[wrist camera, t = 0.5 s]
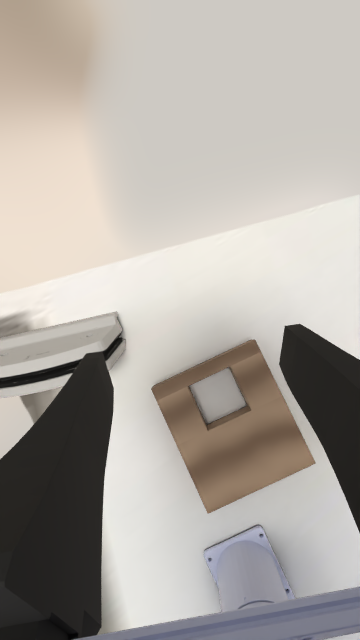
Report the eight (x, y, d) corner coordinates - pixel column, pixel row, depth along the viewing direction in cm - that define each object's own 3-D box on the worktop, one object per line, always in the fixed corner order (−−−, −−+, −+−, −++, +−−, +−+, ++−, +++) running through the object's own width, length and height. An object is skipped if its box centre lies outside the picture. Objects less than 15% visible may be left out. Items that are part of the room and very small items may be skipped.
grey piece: (119, 310, 39) (103, 334, 29) (129, 343, 40) (116, 376, 31) (-1, 337, 39) (-56, 369, 30) (12, 369, 41) (-37, 409, 31)
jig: (307, 454, 37) (315, 463, 34) (206, 501, 37) (207, 513, 34) (250, 339, 38) (255, 339, 36) (153, 385, 38) (151, 388, 36)
